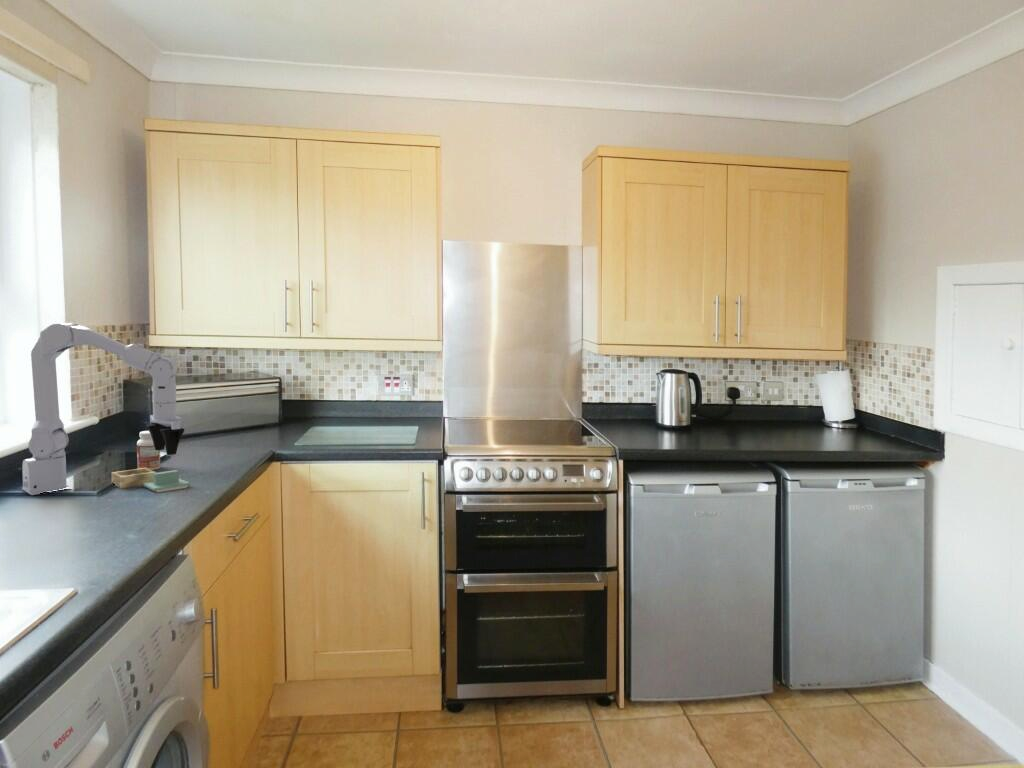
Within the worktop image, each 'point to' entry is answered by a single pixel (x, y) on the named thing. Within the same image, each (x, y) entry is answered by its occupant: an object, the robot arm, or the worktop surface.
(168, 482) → the lid
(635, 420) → the worktop surface
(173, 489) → the mat
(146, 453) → the pill bottle
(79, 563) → the worktop surface
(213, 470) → the worktop surface
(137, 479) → the box
